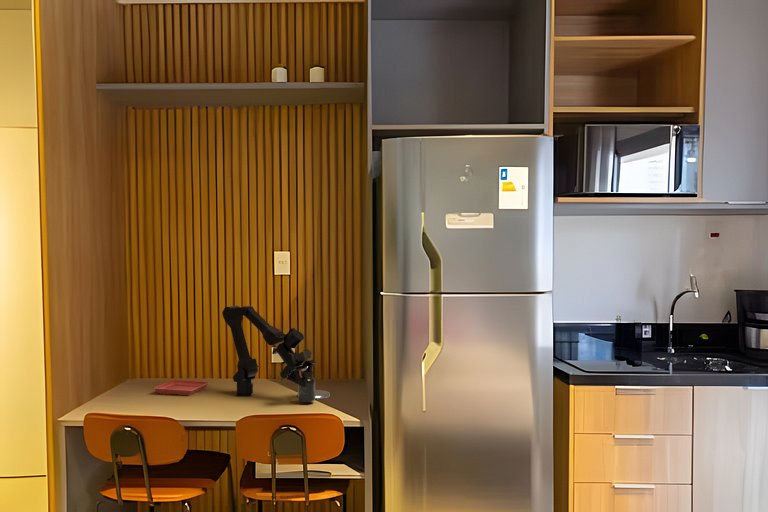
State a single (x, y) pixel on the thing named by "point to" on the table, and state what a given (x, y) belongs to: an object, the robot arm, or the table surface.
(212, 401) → the table surface
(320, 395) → the rosette plate
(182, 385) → the plant saucer
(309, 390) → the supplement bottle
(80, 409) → the table surface
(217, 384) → the table surface
